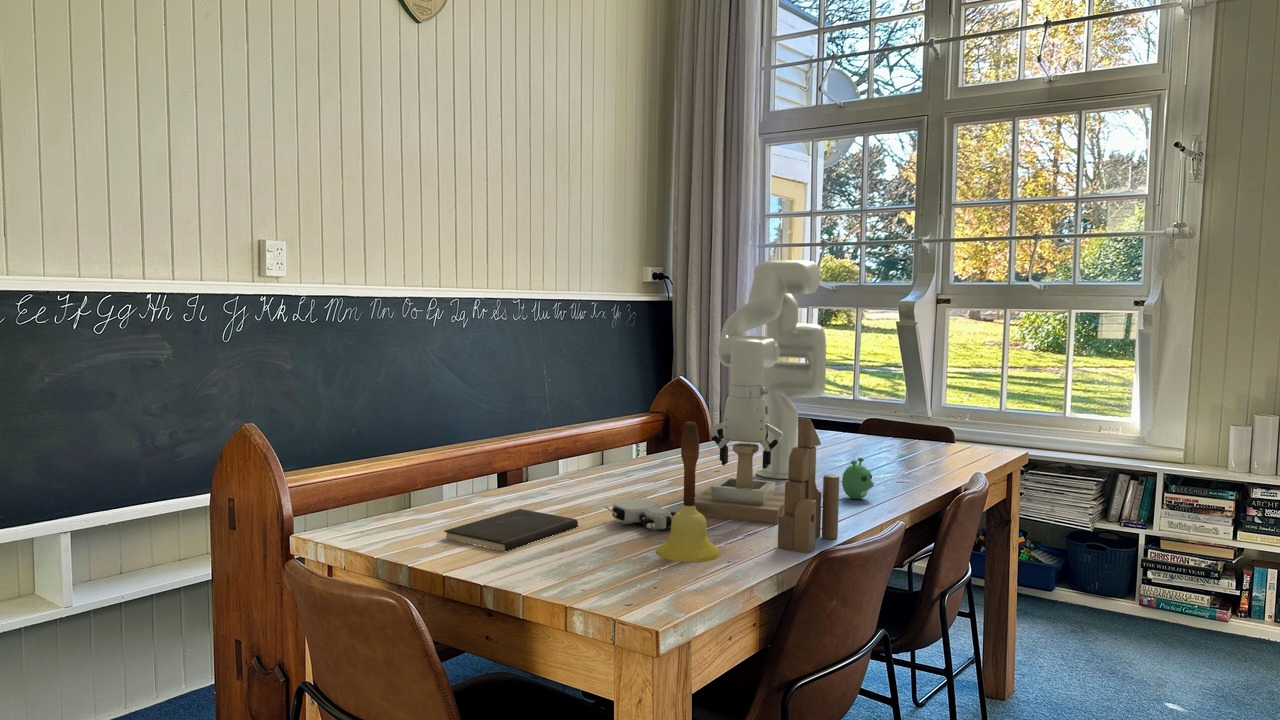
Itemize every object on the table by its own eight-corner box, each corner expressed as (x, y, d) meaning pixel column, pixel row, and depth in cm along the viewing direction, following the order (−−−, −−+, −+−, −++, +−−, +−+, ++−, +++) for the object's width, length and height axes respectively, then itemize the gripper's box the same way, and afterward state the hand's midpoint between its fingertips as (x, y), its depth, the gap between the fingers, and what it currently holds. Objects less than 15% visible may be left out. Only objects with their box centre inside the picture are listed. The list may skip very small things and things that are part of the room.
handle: (760, 509, 205) (762, 445, 203) (742, 513, 200) (744, 448, 199) (744, 505, 208) (746, 442, 207) (726, 509, 204) (728, 445, 203)
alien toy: (866, 503, 212) (867, 462, 212) (836, 499, 217) (837, 458, 216) (877, 498, 218) (879, 458, 217) (848, 494, 223) (849, 455, 222)
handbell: (730, 559, 164) (733, 426, 162) (667, 564, 160) (670, 427, 159) (707, 542, 176) (709, 417, 174) (647, 546, 172) (649, 418, 171)
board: (713, 497, 217) (713, 485, 217) (794, 504, 210) (795, 492, 210) (689, 514, 198) (689, 501, 198) (777, 523, 191) (777, 510, 191)
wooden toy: (808, 554, 168) (812, 424, 167) (777, 548, 172) (780, 421, 171) (840, 537, 181) (843, 416, 179) (809, 532, 185) (813, 413, 183)
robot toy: (690, 531, 187) (643, 513, 198) (692, 511, 187) (644, 493, 198) (648, 541, 179) (601, 522, 190) (649, 519, 179) (602, 501, 190)
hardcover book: (444, 541, 175) (444, 530, 175) (519, 519, 194) (519, 508, 194) (505, 555, 166) (505, 543, 166) (578, 530, 186) (578, 519, 186)
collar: (725, 489, 212) (725, 477, 211) (774, 494, 207) (775, 481, 207) (711, 499, 200) (711, 486, 200) (763, 504, 196) (763, 491, 196)
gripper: (787, 392, 203) (785, 465, 204) (714, 388, 209) (713, 460, 210) (780, 396, 196) (778, 472, 197) (705, 392, 202) (704, 466, 203)
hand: (744, 465), depth 204 cm, fingers open, 9 cm apart
